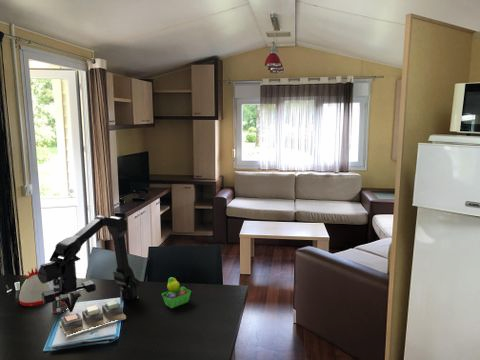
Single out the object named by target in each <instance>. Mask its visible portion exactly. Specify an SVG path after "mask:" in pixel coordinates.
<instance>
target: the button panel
mask: <svg viewBox="0 0 480 360" xmlns="http://www.w3.org/2000/svg"><path fill="white" fill-rule="evenodd" d="M118 306H119V307H117V308H114V309H111V310H108V309H107V308H106V304H103V305H101V308H100V307H99V306H97V307H98V308H99V313H97V314H94V315H91V316H88V315H87V314H86V309H85V310H82V311H81V315H80V313H79V312H75V313H71V314H68V315H65V316H62V317H61V316H60V321H58V323H59V324H60V325H61V327H62V329H63V330H64V332H65V334H66V336H67V335H70V334H73V333H76V332H78V331H81V330H85V329H89V328H91V327H96V326H99V325H103V324H105V323H108V322H111V321H115V320H121V321H124V320H126V319H127V316H126V314H124V311H123V306H122V305H121V304H120V303H119V302H118ZM74 314H76V315H77V317H78V319H77V320H74V321H71V322H67V323H66V321H65V317H67V316H70V315H74ZM60 325H59V326H60ZM61 327H60V328H61ZM62 329H61V330H62ZM64 332H63V333H64ZM65 334H64V335H65ZM66 336H65V337H66Z"/></svg>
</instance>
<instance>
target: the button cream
mask: <svg viewBox="0 0 480 360" xmlns="http://www.w3.org/2000/svg"><path fill="white" fill-rule="evenodd" d="M98 307H99V306H97V305H96V304H95V305H91V306H88V307H86V308H85V310H86V314H87V315H88V316H91V315H94V314H97V313H99V308H100V307H99V308H98Z"/></svg>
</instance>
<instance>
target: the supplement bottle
mask: <svg viewBox="0 0 480 360" xmlns="http://www.w3.org/2000/svg"><path fill="white" fill-rule="evenodd" d="M52 289H53V291H54V292H57V291H61V289H59V286H58V285H56V286H53V287H52ZM51 305H52V306H51V307H52V313H54V314H56V315H59V314H63V313H64V312H63V311H65V310H66V309H67V308H68V307H67V305H66V303H65V302H64V301H61V300H60V299H59V297H56V300H55V301H54V302H51ZM67 310H68V309H67ZM62 312H63V313H62ZM65 312H66V311H65Z"/></svg>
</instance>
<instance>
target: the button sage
mask: <svg viewBox="0 0 480 360" xmlns="http://www.w3.org/2000/svg"><path fill="white" fill-rule="evenodd" d="M118 303H119V302H118V301H117V300H116V299H112V300H108V301H105V305H106V308H107V309H108V310H111V309H114V308H117V307H119V306H118Z"/></svg>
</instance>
